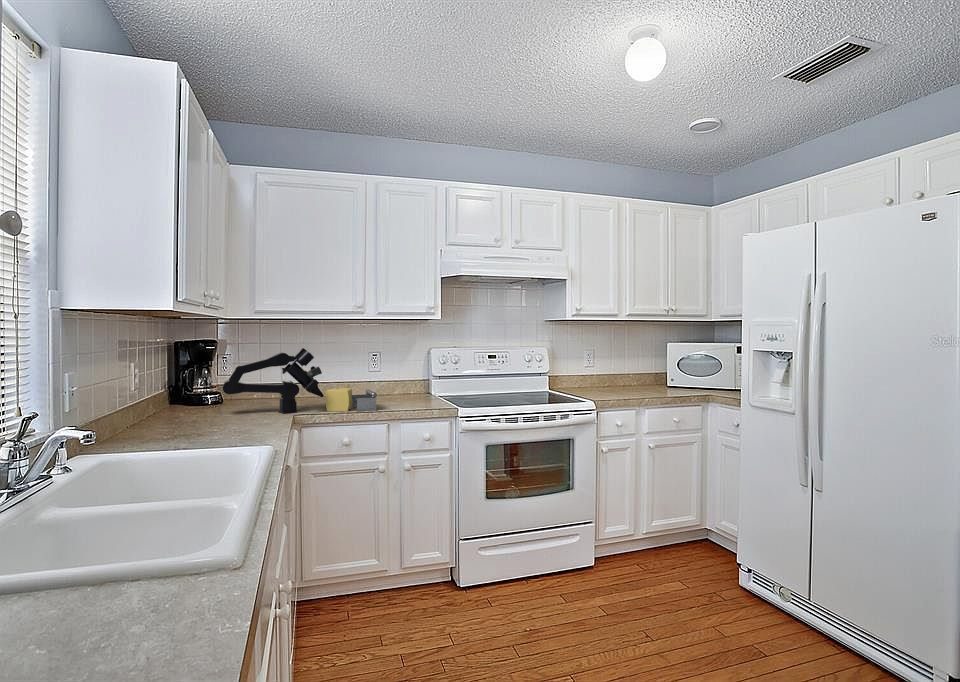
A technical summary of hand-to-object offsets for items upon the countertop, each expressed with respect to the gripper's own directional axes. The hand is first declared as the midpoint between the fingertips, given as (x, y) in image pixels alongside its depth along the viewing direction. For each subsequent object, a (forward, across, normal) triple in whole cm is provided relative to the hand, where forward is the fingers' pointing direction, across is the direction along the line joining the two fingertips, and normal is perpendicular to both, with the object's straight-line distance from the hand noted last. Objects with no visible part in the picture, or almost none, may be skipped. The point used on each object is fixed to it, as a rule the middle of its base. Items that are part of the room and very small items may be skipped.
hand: (323, 396), depth 275 cm
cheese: (+10, 0, 0) cm, 10 cm away
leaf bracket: (+18, 0, -9) cm, 20 cm away
